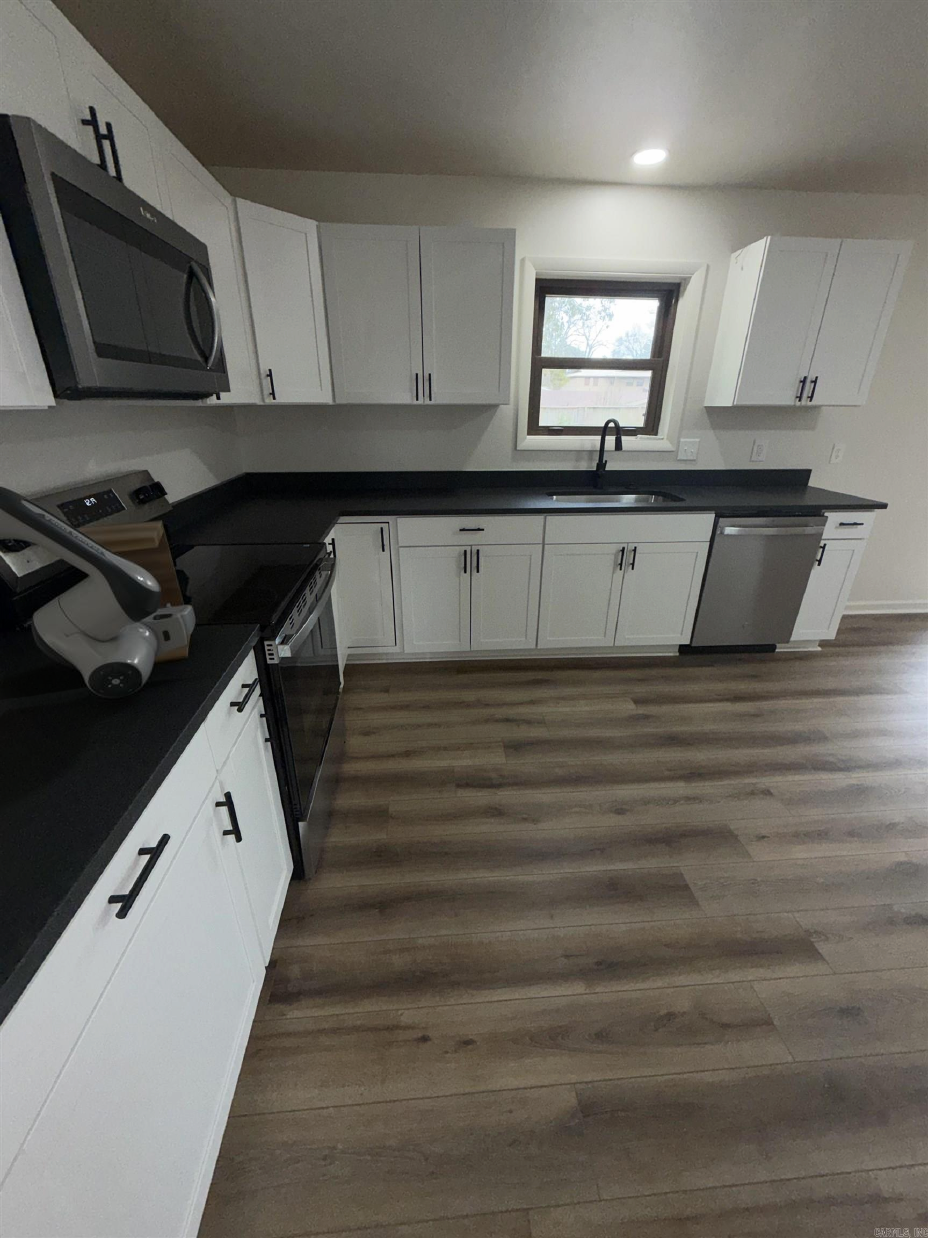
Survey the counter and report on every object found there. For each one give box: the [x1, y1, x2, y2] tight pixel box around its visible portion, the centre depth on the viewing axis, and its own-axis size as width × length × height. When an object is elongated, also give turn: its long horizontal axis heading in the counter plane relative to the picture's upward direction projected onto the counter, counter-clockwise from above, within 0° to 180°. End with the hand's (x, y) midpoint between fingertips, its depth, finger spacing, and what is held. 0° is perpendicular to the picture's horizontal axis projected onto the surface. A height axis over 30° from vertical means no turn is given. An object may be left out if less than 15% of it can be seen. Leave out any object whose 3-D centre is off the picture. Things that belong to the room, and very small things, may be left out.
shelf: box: [78, 519, 191, 665], centre depth 100 cm, size 14×14×27 cm
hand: (140, 610), depth 102 cm, fingers open, 8 cm apart
